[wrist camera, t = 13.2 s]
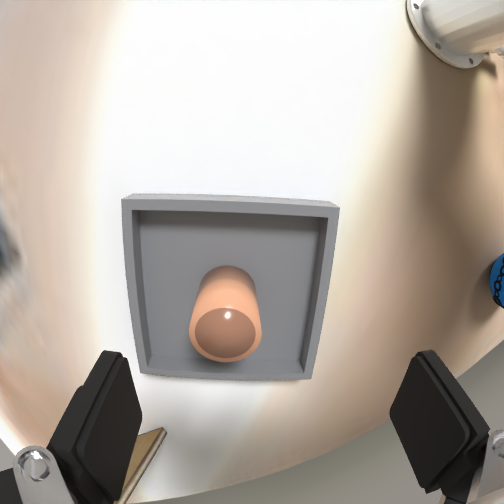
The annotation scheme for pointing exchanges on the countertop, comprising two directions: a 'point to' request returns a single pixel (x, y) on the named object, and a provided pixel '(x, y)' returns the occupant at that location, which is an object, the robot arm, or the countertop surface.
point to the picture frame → (140, 460)
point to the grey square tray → (233, 254)
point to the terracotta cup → (226, 315)
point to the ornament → (498, 281)
